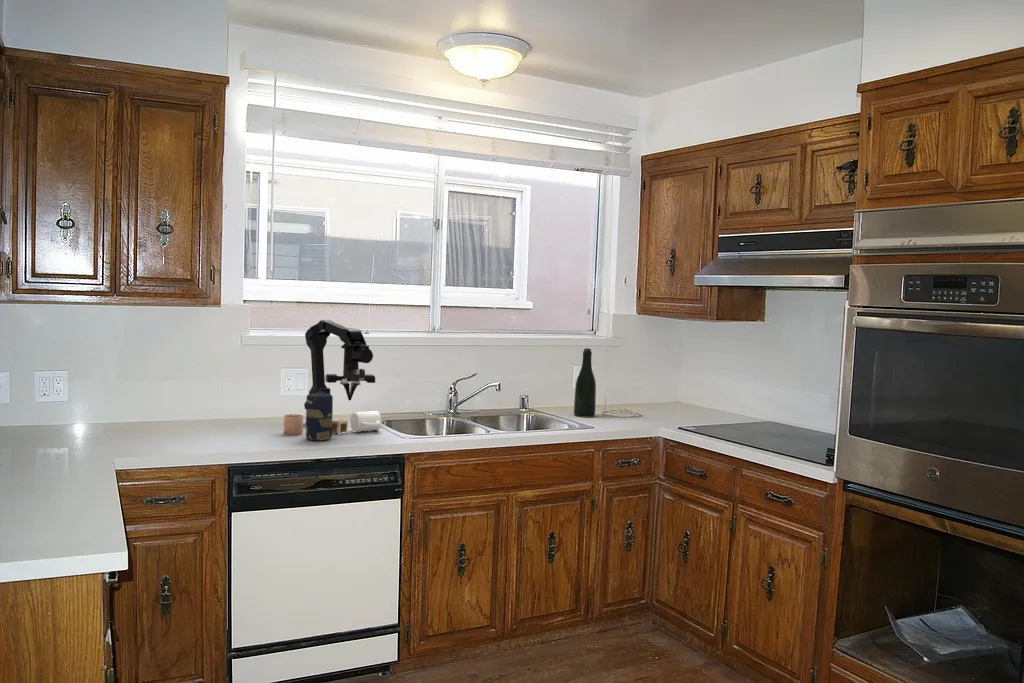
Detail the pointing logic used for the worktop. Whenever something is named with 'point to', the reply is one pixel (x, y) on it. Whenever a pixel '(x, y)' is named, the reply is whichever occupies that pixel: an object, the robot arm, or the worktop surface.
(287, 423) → the cup
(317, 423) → the canister
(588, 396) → the beer bottle
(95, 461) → the worktop surface
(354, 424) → the mug
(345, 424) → the letter cube
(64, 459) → the worktop surface
